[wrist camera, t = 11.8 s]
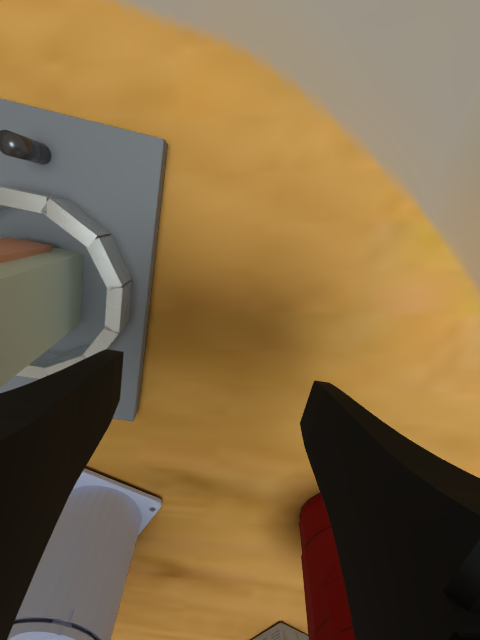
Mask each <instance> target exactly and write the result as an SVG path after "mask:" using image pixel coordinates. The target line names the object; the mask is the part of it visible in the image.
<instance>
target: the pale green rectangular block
mask: <svg viewBox="0 0 480 640" xmlns="http://www.w3.org/2000/svg"><path fill="white" fill-rule="evenodd" d="M82 277H83V253H80V252H75V251H70V250H65V249H60V248H55V247H52V245H47V244H42V243H38V242H33V241H28V240H23V239H18V238H13V237H10V238H6V237H0V387H1V386H3V385H4V384H5V383H7V382H8V381H9V380H10V379H12V378H13V377H14V376H15V375H17V374H18V373H19V372H20V371H22V370H23V369H24V368H25V367H27V366H28V365H29V364H30V363H32V362H33V361H34V360H35V359H37V358H38V357H39V356H40V355H42V354H43V353H44V352H45V351H47V350H48V349H49V348H50V347H52V346H53V345H54V344H55V343H57V342H58V341H59V340H60V339H62V338H63V337H64V336H65V335H67V334H68V333H69V332H70V331H72V330H73V329H74V328H76V327H77V326H78V325H79V324H81V301H82Z"/></svg>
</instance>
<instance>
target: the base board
mask: <svg viewBox="0 0 480 640" xmlns="http://www.w3.org/2000/svg"><path fill="white" fill-rule="evenodd" d="M1 130H9V131H11V132H14V133H17V134H19V135H22V136H25V137H27V138H30V139H32V140H35V141H38V142H40V143H43V144H45V145H46V146H47V147H48V148H49V149H50V152H51V160H50V162H49V163H48V164H45V165H42V164H38V163H34V162H30V161H26V160H22V159H19V158H15V157H11V156H7V155H5V154H3V153H2V152H1V151H0V186H7V187H15V188H20V189H25V190H29V191H34V192H39V193H43V194H48V195H53V196H57V197H62V198H67V200H71V201H72V202H73V203H74V204H76V205H77V206H78V207H79V208H81V209H82V210H83V211H84V212H86V213H87V214H88V215H89V216H91V217H92V218H93V219H94V220H95V221H97V222H98V223H99V224H100V225H102V226H103V227H104V228H105V229H107V230H108V231H109V232H110V233H111V234H110V235H113V237H114V239H115V241H116V243H117V245H118V247H119V250H120V252H121V254H122V256H123V258H124V260H125V262H126V265H127V267H128V269H129V271H130V273H131V275H132V277H133V278H132V279H131V280H133V287H132V298H131V310H130V320H129V321H128V323H127V325H126V326H125V327H124V328H123V330H122V331H121V332H120V333H119V334H118V336H117V337H116V338H115V339H114V341H113V342H112V343H111V344H110V345H109V347H108V348H107V349H109V350H116V351H122V352H124V356H123V368H122V381H121V393H120V401H119V403H118V406H117V408H116V411H115V413H114V416H113V418H112V419H119V420H127V421H134V419H135V417H136V414H137V412H138V406H139V397H140V388H141V379H142V370H143V361H144V352H145V344H146V335H147V326H148V317H149V308H150V299H151V290H152V281H153V272H154V263H155V254H156V245H157V236H158V228H159V219H160V210H161V201H162V192H163V183H164V174H165V165H166V156H167V147H168V144H167V143H166V141H165V140H164V139H161V138H157V137H153V136H149V135H145V134H141V133H137V132H133V131H129V130H125V129H121V128H117V127H113V126H109V125H105V124H101V123H96V122H92V121H88V120H84V119H80V118H76V117H72V116H68V115H64V114H60V113H56V112H52V111H48V110H44V109H40V108H36V107H32V106H28V105H24V104H20V103H16V102H12V101H8V100H4V99H0V131H1ZM110 235H109V236H110ZM0 237H6V238H10V237H13V238H18V239H23V240H28V241H33V242H38V243H42V244H47V245H52V247H55V248H60V249H65V250H70V251H75V252H80V253H83V277H82V301H81V324H79V325H78V326H77V327H76V328H74V329H73V330H72V331H70V332H69V333H68V334H67V335H65V336H64V337H63V338H62V339H60V340H59V341H58V342H57V343H55V344H54V345H53V346H52V347H50V348H49V349H48V350H50V351H57V352H66V351H69V350H72V349H75V348H78V347H81V346H84V345H87V344H90V343H93V342H94V340H95V339H96V338H97V337H98V335H99V334H100V333H101V332H102V330H103V329H104V328H105V313H106V297H107V287H106V285H105V283H104V281H103V279H102V277H101V275H100V273H99V271H98V269H97V267H96V265H95V263H94V261H93V259H92V257H91V255H90V254H89V252H88V250H87V248H86V246H85V245H84V244H82V243H81V242H80V241H78V240H77V239H76V238H75V237H73V236H72V235H71V234H69V233H68V232H67V231H65V230H64V229H63V228H62V227H60V226H59V225H58V224H56V223H55V222H54V221H52V220H51V219H50V218H48V217H47V216H46V215H45V214H43V213H38V212H33V211H28V210H23V209H18V208H13V207H10V208H7V209H4V210H2V211H0ZM36 380H38V379H37V378H30V377H22V376H14V377H13V378H12V379H10V380H9V381H8V382H7V383H5V384H4V385H3V386H1V387H0V393H3V392H6V391H9V390H12V389H15V388H18V387H21V386H23V385H26V384H29V383H31V382H34V381H36Z"/></svg>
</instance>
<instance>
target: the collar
mask: <svg viewBox="0 0 480 640" xmlns="http://www.w3.org/2000/svg"><path fill="white" fill-rule="evenodd" d="M0 151H1V152H2V153H3V154H5V155H7V156H11V157H15V158H19V159H22V160H26V161H30V162H34V163H38V164H42V165H45V164H48V163H49V162H50V160H51V152H50V149H49V148H48V147H47V146H46V145H45V144H43V143H40V142H38V141H35V140H32V139H30V138H27V137H25V136H22V135H19V134H17V133H14V132H11V131H9V130H1V131H0ZM10 207H13V208H18V209H23V210H28V211H33V212H38V213H43V214H45V215H46V216H47V217H48V218H50V219H51V220H52V221H54V222H55V223H56V224H58V225H59V226H60V227H62V228H63V229H64V230H65V231H67V232H68V233H69V234H71V235H72V236H73V237H75V238H76V239H77V240H78V241H80V242H81V243H82V244H84V245H85V246H86V248H87V250H88V252H89V254H90V255H91V257H92V259H93V261H94V263H95V265H96V267H97V269H98V271H99V273H100V275H101V277H102V279H103V281H104V283H105V285H106V287H107V297H106V313H105V328H104V329H103V330H102V332H101V333H100V334H99V335H98V337H97V338H96V339H95V340H94V342H93V343H90V344H87V345H84V346H81V347H78V348H75V349H72V350H69V351H66V352H57V351H50V350H47V351H45V352H44V353H43V354H42V355H40V356H39V357H38V358H37V359H35V360H34V361H33V362H32V363H30V364H29V365H28V366H27V367H25V368H24V369H23V370H22V371H20V372H19V373H18V374H17V375H15V376H22V377H30V378H37V379H41V378H43V377H46V376H48V375H50V374H53V373H55V372H57V371H60V370H62V369H64V368H66V367H69V366H71V365H73V364H75V363H77V362H79V361H81V360H83V359H85V358H87V357H90V356H92V355H94V354H96V353H98V352H100V351H103V350H105V349H107V348H108V347H109V345H110V344H111V343H112V342H113V341H114V339H115V338H116V337H117V336H118V334H119V333H120V332H121V331H122V330H123V328H124V327H125V326H126V325H127V323H128V321H129V320H130V310H131V298H132V287H133V280H131V279H132V278H133V277H132V275H131V273H130V271H129V269H128V267H127V265H126V262H125V260H124V258H123V256H122V254H121V252H120V250H119V247H118V245H117V243H116V241H115V239H114V237H113V235H110V234H111V233H110V232H109V231H108V230H107V229H105V228H104V227H103V226H102V225H100V224H99V223H98V222H97V221H95V220H94V219H93V218H92V217H91V216H89V215H88V214H87V213H86V212H84V211H83V210H82V209H81V208H79V207H78V206H77V205H76V204H74V203H73V202H72V201H71V200H67V198H62V197H57V196H53V195H48V194H43V193H39V192H34V191H29V190H25V189H20V188H15V187H7V186H0V211H2V210H4V209H7V208H10ZM109 235H110V236H109Z"/></svg>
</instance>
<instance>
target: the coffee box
mask: <svg viewBox="0 0 480 640" xmlns="http://www.w3.org/2000/svg"><path fill="white" fill-rule="evenodd" d="M252 640H309V636H307V635H305V634H303V633H301V632H299V631H297V630H295V629H293V628H291V627H289V626H287V625H285V624H283V623H278V624H277V625H275V626H274V627H272V628H270V629H269V630H267V631H265V632H264V633H262V634H261V635H259V636H257V637H256V638H254V639H252Z"/></svg>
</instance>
